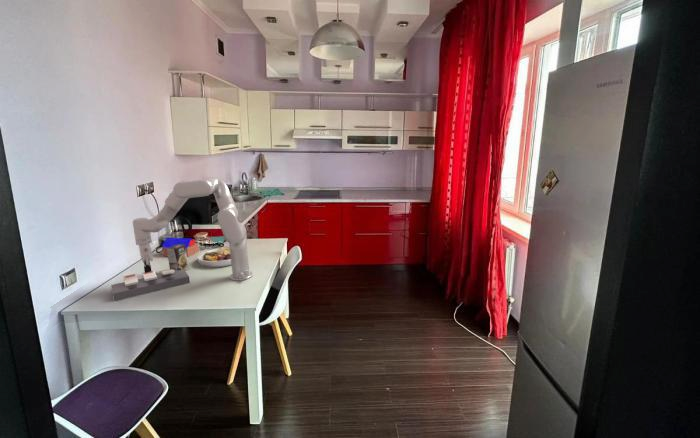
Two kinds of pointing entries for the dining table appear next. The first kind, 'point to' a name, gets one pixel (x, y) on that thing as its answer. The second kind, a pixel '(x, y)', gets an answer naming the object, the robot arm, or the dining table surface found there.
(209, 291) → the dining table surface
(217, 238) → the cutlery set
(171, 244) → the house
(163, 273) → the rocker right
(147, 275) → the rocker middle
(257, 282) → the dining table surface
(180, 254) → the coffee box
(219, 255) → the bowl
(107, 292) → the dining table surface
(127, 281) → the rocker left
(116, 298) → the grey switch panel
